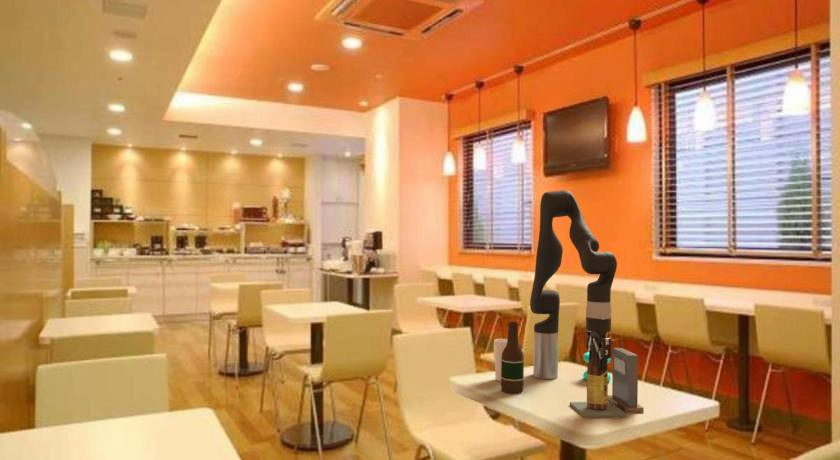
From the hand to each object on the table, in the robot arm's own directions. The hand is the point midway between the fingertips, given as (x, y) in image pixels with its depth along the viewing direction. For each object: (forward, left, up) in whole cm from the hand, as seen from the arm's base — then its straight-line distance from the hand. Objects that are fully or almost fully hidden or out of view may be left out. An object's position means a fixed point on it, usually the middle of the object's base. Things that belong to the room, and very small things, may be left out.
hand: (597, 367), depth 183 cm
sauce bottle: (0, 0, -13) cm, 13 cm away
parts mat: (0, 0, -14) cm, 14 cm away
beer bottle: (-24, -21, -14) cm, 35 cm away
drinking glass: (-39, -21, -14) cm, 46 cm away
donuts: (-38, +15, -14) cm, 43 cm away
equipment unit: (-5, +11, -14) cm, 18 cm away
